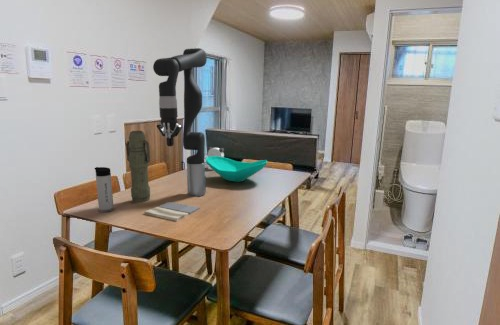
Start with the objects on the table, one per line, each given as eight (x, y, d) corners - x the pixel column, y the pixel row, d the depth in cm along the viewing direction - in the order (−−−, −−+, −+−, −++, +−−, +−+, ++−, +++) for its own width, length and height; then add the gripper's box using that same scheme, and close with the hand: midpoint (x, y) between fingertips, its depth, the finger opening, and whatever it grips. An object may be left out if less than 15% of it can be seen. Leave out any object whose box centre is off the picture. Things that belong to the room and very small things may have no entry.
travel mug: (102, 207, 156) (98, 166, 152) (116, 207, 156) (112, 166, 152) (95, 212, 150) (91, 169, 146) (110, 212, 150) (106, 169, 146)
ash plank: (156, 210, 153) (156, 206, 153) (188, 216, 145) (188, 213, 145) (144, 214, 146) (144, 211, 146) (177, 221, 138) (177, 218, 138)
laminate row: (169, 204, 161) (168, 201, 160) (199, 210, 153) (199, 207, 153) (158, 209, 154) (158, 206, 154) (190, 215, 146) (189, 212, 146)
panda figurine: (227, 167, 241) (226, 147, 238) (219, 170, 231) (219, 149, 228) (212, 165, 246) (212, 146, 243) (204, 169, 236) (204, 148, 233)
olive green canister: (134, 197, 171) (129, 129, 164) (156, 198, 169) (152, 130, 162) (125, 203, 162) (120, 131, 155) (148, 204, 161) (144, 132, 153)
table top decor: (273, 178, 212) (273, 157, 209) (258, 189, 186) (259, 166, 184) (217, 172, 225) (216, 153, 223) (196, 182, 200) (196, 161, 197)
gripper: (185, 106, 144) (187, 146, 148) (162, 105, 150) (164, 143, 154) (174, 107, 138) (176, 148, 142) (150, 106, 144) (153, 146, 147)
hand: (170, 146), depth 148 cm, fingers closed
